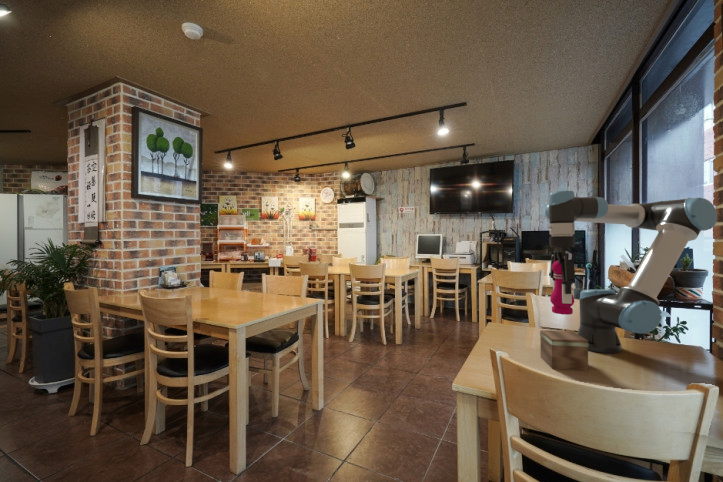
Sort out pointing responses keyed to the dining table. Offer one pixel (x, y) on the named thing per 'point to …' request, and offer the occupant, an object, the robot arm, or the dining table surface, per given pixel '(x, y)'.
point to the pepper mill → (559, 293)
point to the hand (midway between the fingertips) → (562, 300)
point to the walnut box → (564, 350)
